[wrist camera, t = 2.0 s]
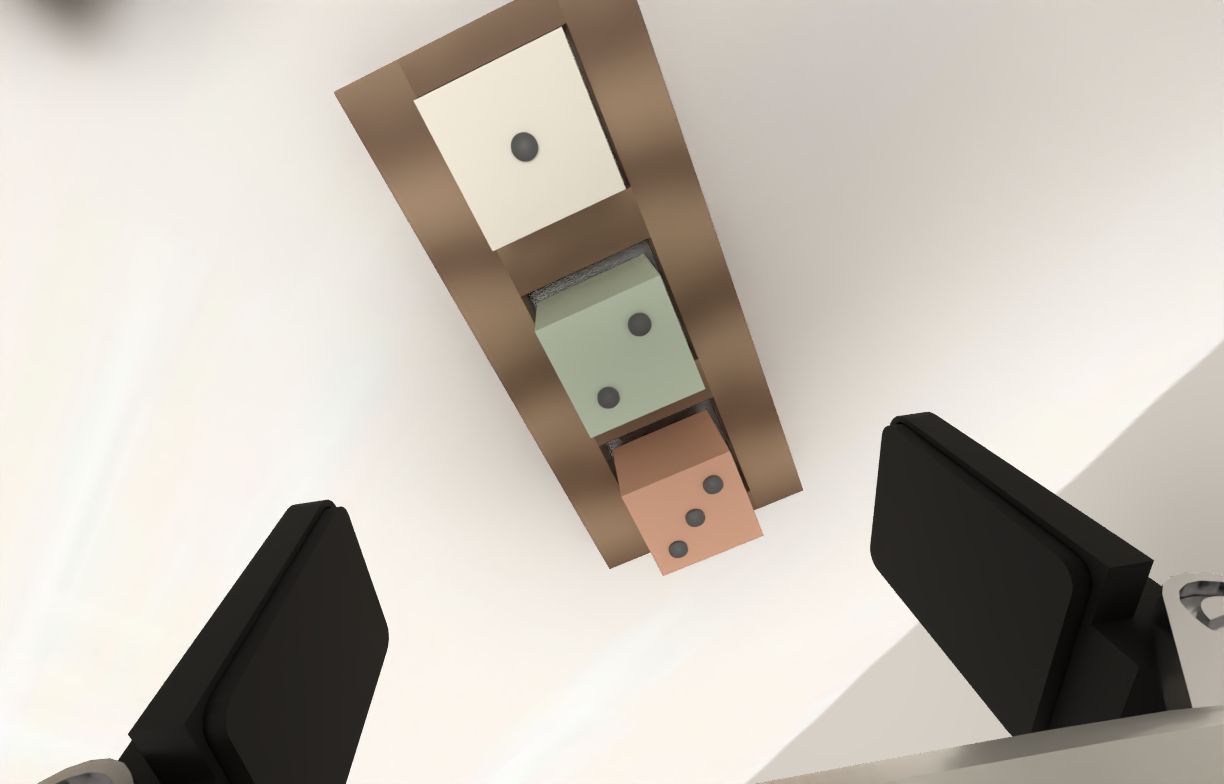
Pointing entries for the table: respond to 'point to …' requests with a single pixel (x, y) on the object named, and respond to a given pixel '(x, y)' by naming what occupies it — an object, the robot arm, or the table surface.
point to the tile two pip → (617, 345)
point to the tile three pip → (685, 493)
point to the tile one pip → (523, 140)
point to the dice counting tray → (579, 247)
